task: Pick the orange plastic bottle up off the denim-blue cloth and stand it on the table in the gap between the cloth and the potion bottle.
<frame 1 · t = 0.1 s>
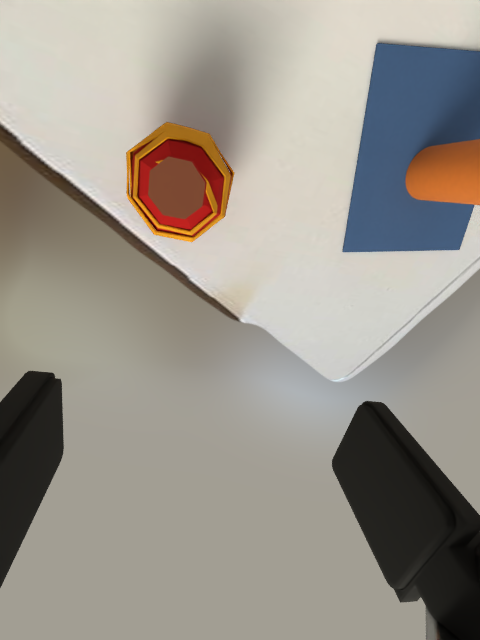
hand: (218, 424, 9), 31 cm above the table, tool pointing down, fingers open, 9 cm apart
cloth: (423, 163, 37), on the table
bottle: (428, 173, 37), resting on cloth
potion bottle: (183, 184, 34), on the table
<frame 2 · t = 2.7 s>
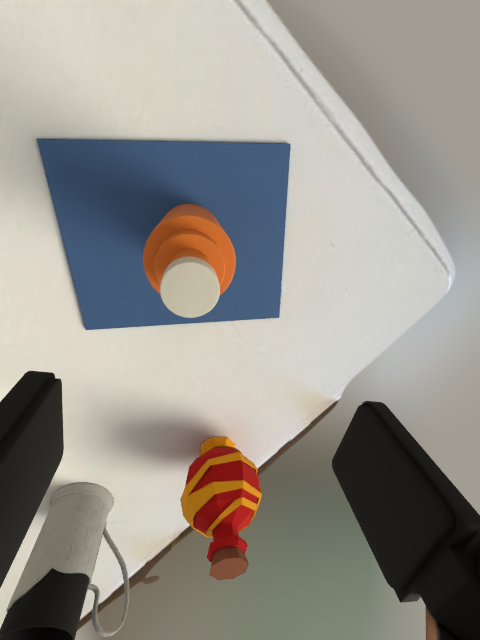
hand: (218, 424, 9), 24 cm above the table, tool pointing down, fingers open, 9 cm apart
cloth: (179, 243, 30), on the table
bottle: (190, 236, 29), resting on cloth
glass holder: (100, 506, 45), on the table
potion bottle: (216, 448, 43), on the table
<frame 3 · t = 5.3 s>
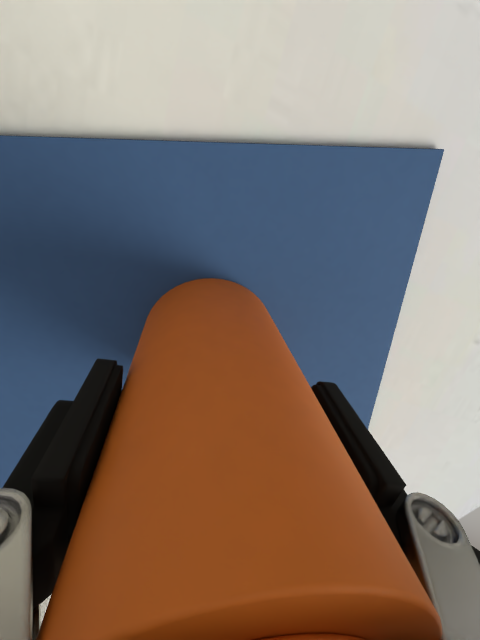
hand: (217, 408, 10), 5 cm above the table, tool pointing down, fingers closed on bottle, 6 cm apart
cloth: (186, 351, 15), on the table
bottle: (210, 339, 14), resting on cloth, touching gripper
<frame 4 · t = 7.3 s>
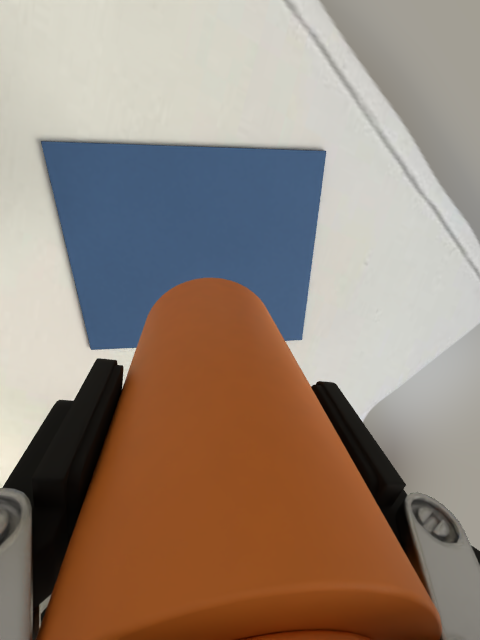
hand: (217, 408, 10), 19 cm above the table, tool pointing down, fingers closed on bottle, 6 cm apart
cloth: (197, 259, 27), on the table
bottle: (210, 338, 14), point 15 cm above the table, touching gripper
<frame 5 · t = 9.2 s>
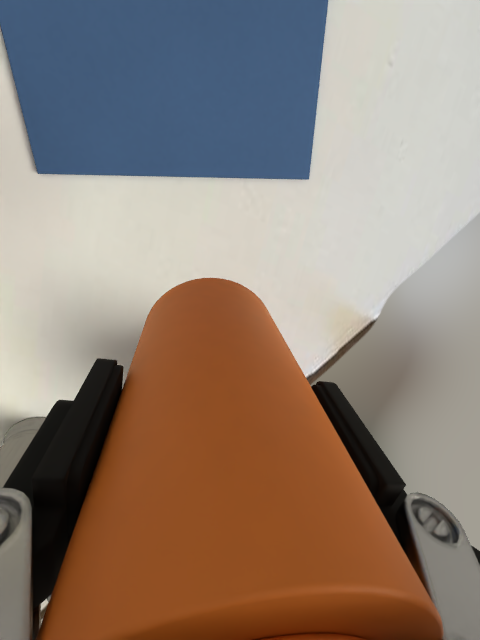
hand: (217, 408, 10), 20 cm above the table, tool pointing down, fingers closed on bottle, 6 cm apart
cloth: (172, 34, 20), on the table
bottle: (210, 338, 14), point 15 cm above the table, touching gripper
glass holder: (69, 452, 36), on the table
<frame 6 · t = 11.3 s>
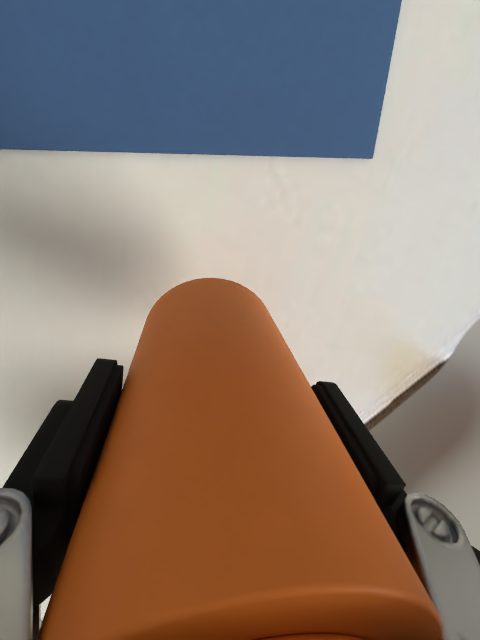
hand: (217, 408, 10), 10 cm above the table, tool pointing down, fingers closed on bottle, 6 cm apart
bottle: (210, 338, 14), point 5 cm above the table, touching gripper
when the fingers open (5 cm above the table, at t = 13.0 s): bottle stays where it is, on the table.
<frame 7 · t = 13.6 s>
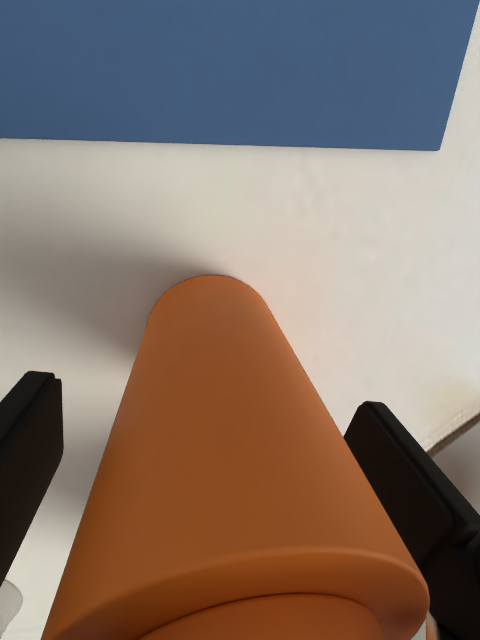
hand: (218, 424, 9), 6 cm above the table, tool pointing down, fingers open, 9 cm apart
bottle: (211, 334, 14), on the table
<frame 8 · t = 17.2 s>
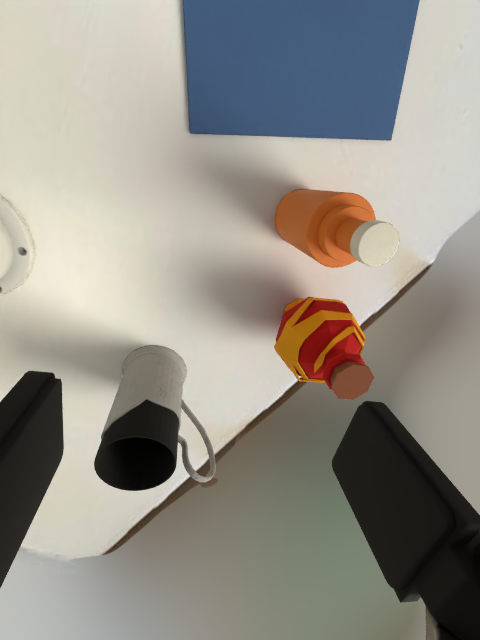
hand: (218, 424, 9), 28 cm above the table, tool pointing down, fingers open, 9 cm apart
cloth: (303, 23, 27), on the table
bottle: (300, 217, 35), on the table
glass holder: (171, 380, 42), on the table
potion bottle: (299, 315, 41), on the table
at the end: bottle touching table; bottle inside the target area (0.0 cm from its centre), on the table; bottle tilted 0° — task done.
